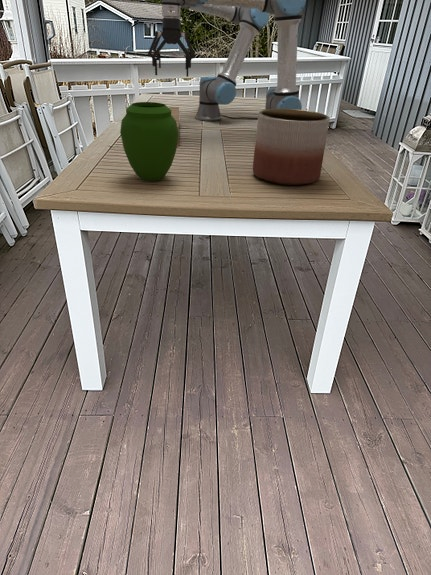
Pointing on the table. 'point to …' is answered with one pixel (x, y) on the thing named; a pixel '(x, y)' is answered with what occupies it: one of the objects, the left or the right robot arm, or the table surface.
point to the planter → (290, 146)
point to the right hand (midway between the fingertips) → (171, 75)
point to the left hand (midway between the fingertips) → (173, 68)
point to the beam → (176, 118)
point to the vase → (149, 139)
